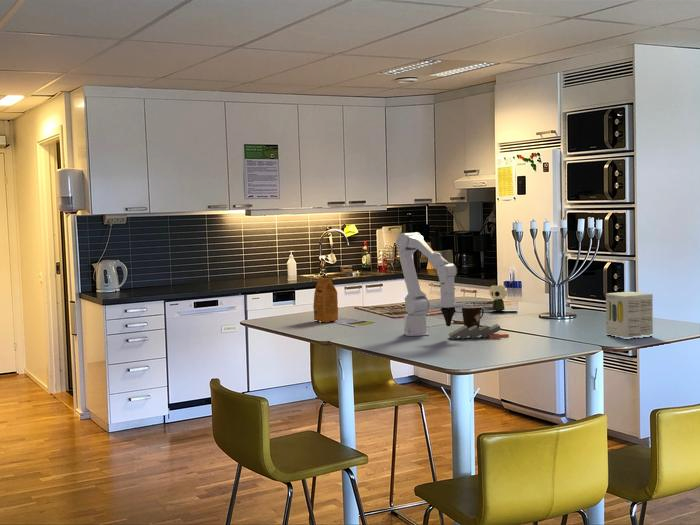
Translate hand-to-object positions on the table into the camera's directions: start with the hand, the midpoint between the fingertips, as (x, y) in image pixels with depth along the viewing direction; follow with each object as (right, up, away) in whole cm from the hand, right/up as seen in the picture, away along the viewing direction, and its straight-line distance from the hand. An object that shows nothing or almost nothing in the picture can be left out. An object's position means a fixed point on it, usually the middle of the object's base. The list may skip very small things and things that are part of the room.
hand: (448, 325), depth 347 cm
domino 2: (+9, -4, +1) cm, 10 cm away
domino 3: (+14, -4, +1) cm, 15 cm away
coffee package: (-52, -3, +63) cm, 82 cm away
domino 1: (+5, -4, +1) cm, 7 cm away
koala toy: (+35, +1, +81) cm, 88 cm away
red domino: (+17, -5, +2) cm, 17 cm away
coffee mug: (+15, -3, +25) cm, 29 cm away
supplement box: (+72, -4, -7) cm, 73 cm away
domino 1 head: (+1, -5, 0) cm, 5 cm away
